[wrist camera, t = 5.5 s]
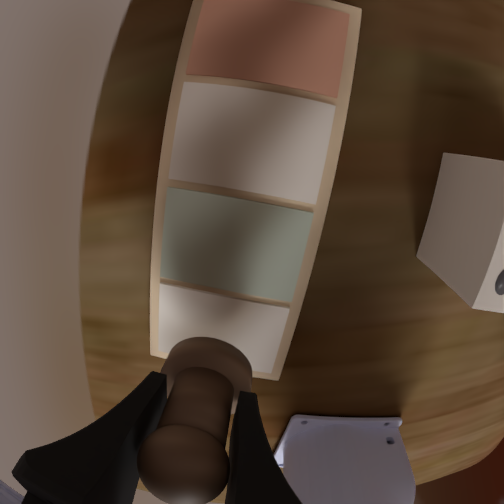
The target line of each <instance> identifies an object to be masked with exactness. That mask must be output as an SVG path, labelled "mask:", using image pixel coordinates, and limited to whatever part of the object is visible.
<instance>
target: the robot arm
mask: <svg viewBox="0 0 504 504" xmlns="http://www.w3.org/2000/svg"><path fill="white" fill-rule="evenodd" d="M166 402H167V375H165V374H162V373H158V372H154V371H152V372H150V374H149V375H148V376H147V377H146V378H145V379H144V380H143V381H142V382H141V383H140V384H139V385H138V386H137V387H136V388H135V389H134V390H133V391H132V392H131V393H130V394H129V395H128V396H127V397H125V398H124V399H123V400H122V401H121V402H120V403H119V404H117V405H116V406H115V407H114V408H112V409H111V410H110V411H109V412H107V413H106V414H105V415H103V416H102V417H101V418H99V419H98V420H96V421H95V422H93V423H91V424H90V425H88V426H87V427H85V428H83V429H81V430H80V431H78V432H76V433H74V434H72V435H70V436H68V437H65V438H63V439H61V440H58V441H56V442H53V443H51V444H48V445H44V446H41V447H38V448H34V449H31V450H27V451H25V453H24V454H23V455H22V456H21V458H20V459H19V461H18V462H17V464H16V466H15V467H14V469H13V470H12V474H13V476H14V477H15V479H16V480H17V481H18V482H19V483H20V484H21V485H22V486H23V487H24V488H25V489H26V490H27V493H26V495H25V497H24V496H22V495H21V494H19V493H18V492H16V491H15V490H13V489H12V488H11V487H9V486H8V485H7V484H5V483H4V482H2V481H1V480H0V504H132V502H133V499H134V495H135V491H136V488H137V484H138V481H139V477H140V476H139V473H138V469H137V454H138V451H139V448H140V446H141V444H142V442H143V441H144V440H145V438H146V437H147V436H148V435H149V434H151V433H152V432H153V431H155V430H156V428H157V425H158V423H159V420H160V417H161V415H162V412H163V409H164V407H165V404H166ZM401 423H402V419H401V418H400V417H389V418H349V417H325V416H310V415H294V416H292V417H291V419H290V421H289V423H288V426H287V428H286V430H285V432H284V434H283V436H282V438H281V440H280V443H279V445H278V447H277V449H276V451H275V453H274V455H273V452H272V450H271V448H270V445H269V442H268V440H267V437H266V434H265V431H264V428H263V424H262V421H261V417H260V412H259V407H258V401H257V395H256V394H255V393H251V392H245V391H240V393H239V397H238V401H237V406H236V410H235V414H234V418H233V424H232V430H231V436H230V446H229V462H230V476H229V480H228V484H227V493H226V499H225V504H413V503H414V499H415V480H414V476H413V472H412V469H411V466H410V462H409V459H408V456H407V453H406V450H405V447H404V444H403V441H402V438H401V435H400V432H399V429H398V427H399V426H400V425H401ZM280 467H283V473H282V471H281V469H280Z"/></svg>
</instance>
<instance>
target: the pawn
mask: <svg viewBox="0 0 504 504" xmlns="http://www.w3.org/2000/svg"><path fill="white" fill-rule="evenodd" d="M161 373H162V374H165V375H167V396H168V399H167V402H166V404H165V407H164V409H163V412H162V415H161V417H160V420H159V423H158V425H157V428H156V430H155V431H153V432H152V433H151V434H149V435H148V436H147V437H146V438H145V440H144V441H143V442H142V444H141V446H140V448H139V451H138V454H137V469H138V473H139V476H140V479H141V481H142V482H143V484H144V485H145V487H146V488H147V489H148V490H149V491H150V492H151V493H152V494H153V495H154V496H156V497H157V498H159V499H160V500H162V501H164V502H166V503H169V504H206V503H208V502H210V501H212V500H213V499H215V498H216V497H217V496H218V495H220V493H221V492H222V491H223V490H224V488H225V487H226V485H227V483H228V480H229V476H230V462H229V458H228V455H227V453H226V451H225V446H226V440H227V434H228V428H229V422H230V416H231V414H234V413H235V410H236V406H237V401H238V397H239V393H240V391H245V392H251V385H252V367H251V364H250V362H249V360H248V359H247V357H246V356H245V355H244V354H243V353H242V352H241V351H240V350H239V349H237V348H236V347H235V346H233V345H231V344H229V343H227V342H225V341H222V340H220V339H216V338H211V337H192V338H188V339H184V340H182V341H180V342H179V343H177V344H176V345H175V346H174V347H173V348H172V349H171V351H170V353H169V355H168V357H167V359H166V361H165V363H164V365H163V367H162V370H161Z"/></svg>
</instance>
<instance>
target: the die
mask: <svg viewBox="0 0 504 504" xmlns="http://www.w3.org/2000/svg"><path fill="white" fill-rule="evenodd" d="M416 257H417V258H418V259H419V260H421V261H422V262H423V263H424V264H425V265H426V266H427V267H428V268H430V269H431V270H432V271H433V272H434V273H435V274H436V275H437V276H438V277H440V278H441V279H442V280H443V281H444V282H445V283H446V284H447V285H448V286H449V287H450V288H451V289H452V290H453V291H454V292H456V293H457V294H458V295H459V296H460V297H461V298H462V299H463V300H464V301H465V302H466V303H467V304H468V305H469V306H470V307H471V308H472V309H479V310H486V311H493V312H500V313H504V161H501V160H495V159H488V158H482V157H475V156H468V155H460V154H452V153H443V156H442V161H441V166H440V171H439V175H438V180H437V184H436V188H435V192H434V196H433V200H432V204H431V208H430V212H429V215H428V219H427V222H426V226H425V229H424V232H423V236H422V239H421V242H420V245H419V248H418V251H417V254H416Z"/></svg>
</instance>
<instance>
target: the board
mask: <svg viewBox="0 0 504 504" xmlns="http://www.w3.org/2000/svg"><path fill="white" fill-rule="evenodd" d="M361 13H362V9H361V8H357V7H354V6H351V5H347V4H344V3H340V2H336V1H332V0H193V2H192V6H191V9H190V13H189V16H188V20H187V24H186V28H185V31H184V35H183V39H182V43H181V48H180V52H179V56H178V60H177V65H176V70H175V74H174V79H173V84H172V89H171V94H170V99H169V105H168V111H167V116H166V122H165V129H164V135H163V142H162V149H161V156H160V164H159V172H158V181H157V190H156V200H155V211H154V223H153V237H152V255H151V279H150V355H153V356H157V357H161V358H165V359H167V357H168V355H169V353H170V351H171V349H172V348H173V347H174V346H175V345H176V344H177V343H179V342H180V341H182V340H184V339H188V338H192V337H211V338H216V339H220V340H222V341H225V342H227V343H229V344H231V345H233V346H235V347H236V348H237V349H239V350H240V351H241V352H242V353H243V354H244V355H245V356H246V357H247V359H248V360H249V362H250V364H251V367H252V377H257V378H263V379H270V380H277V381H278V380H279V377H280V374H281V371H282V368H283V365H284V362H285V359H286V356H287V353H288V350H289V347H290V343H291V340H292V337H293V334H294V330H295V327H296V324H297V320H298V317H299V314H300V310H301V307H302V303H303V300H304V296H305V293H306V289H307V286H308V282H309V279H310V275H311V271H312V268H313V264H314V260H315V256H316V252H317V249H318V245H319V241H320V237H321V233H322V229H323V225H324V220H325V216H326V212H327V208H328V204H329V199H330V195H331V190H332V186H333V181H334V177H335V172H336V167H337V163H338V158H339V153H340V148H341V143H342V138H343V133H344V127H345V122H346V116H347V111H348V105H349V99H350V93H351V87H352V81H353V74H354V68H355V61H356V54H357V47H358V39H359V31H360V22H361Z"/></svg>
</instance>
